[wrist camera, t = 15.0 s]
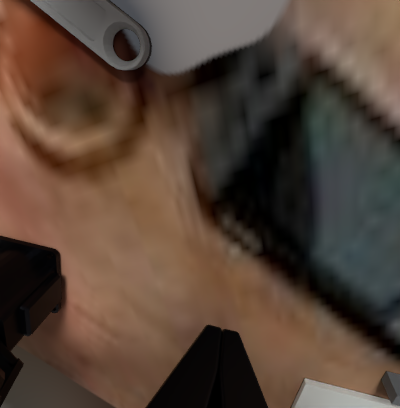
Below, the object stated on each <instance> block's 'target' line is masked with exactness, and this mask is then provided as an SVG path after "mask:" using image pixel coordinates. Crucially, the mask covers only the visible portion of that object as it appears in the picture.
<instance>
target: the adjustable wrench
mask: <svg viewBox="0 0 400 408" xmlns="http://www.w3.org/2000/svg"><path fill="white" fill-rule="evenodd" d="M31 1H32V2H33V3H34V4H36V5H37V6H38V7H39V8H40V9H42V10H43V11H44V12H45V13H47V14H48V15H49V16H50V17H52V18H53V19H54V20H55V21H57V22H58V23H59V24H60V25H62V26H63V27H64V28H65V29H66V30H68V31H69V32H70V33H71V34H73V35H74V36H75V37H76V38H78V39H79V40H80V41H81V42H83V43H84V44H85V45H86V46H87V47H89V48H90V49H91V50H92V51H94V52H95V53H96V54H97V55H99V56H100V57H101V58H102V59H104V60H105V61H106V62H107V63H108V64H110V65H111V66H113V67H115V68H116V69H120V70H135V69H138V68H139V67H141V66H142V65H143V64H144V63H145V62H146V63H147V62H148V61H149V59H150V56H151V52H152V43H151V38H150V36H149V34H148V32H147V31H146V30H145V29H144V27H143V26H142V25H140V24H139V23H138V22H137V21H135V20H134V19H133V18H132V17H130V16H129V15H128V14H126V13H125V12H124V11H122V10H121V9H120V8H119V7H117V6H116V5H115V4H114V3H113V2H111V1H110V0H31ZM122 29H129V30H131V31H133V32H134V33H135V34H136V35H137V36H138V38H139V41H140V52H139V55H138V56H137V57H136V58H135V59H134V60H132V61H123V60H121V59H120V58H119V57H118V56H117V55H116V54H115V52H114V49H113V39H114V36H115V34H116V33H117V32H118V31H120V30H122Z"/></svg>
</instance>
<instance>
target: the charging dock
mask: <svg viewBox="0 0 400 408" xmlns="http://www.w3.org/2000/svg"><path fill="white" fill-rule="evenodd" d="M381 380H382V382H383V385H384V387H385V390H386V392H387V395H388V397H389V399H390V402H391V404H392V405H396V406H400V374H396V373H392V372H388V371H386V373H385V374H384V376H383V378H382V379H381Z"/></svg>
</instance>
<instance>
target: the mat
mask: <svg viewBox="0 0 400 408" xmlns="http://www.w3.org/2000/svg"><path fill="white" fill-rule="evenodd" d="M291 408H400V406H396V405H392V404H391V402H390V400H388V399H384V398H380V397H376V396H372V395H368V394H364V393H361V392H357V391H353V390H349V389H345V388H341V387H337V386H333V385H330V384H326V383H322V382H318V381H314V380H310V379H306V378H305V379H304V381H303V383H302V385H301V387H300V390H299V392H298V394H297V396H296V398H295V400H294V403H293V405H292V407H291Z"/></svg>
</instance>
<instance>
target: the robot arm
mask: <svg viewBox="0 0 400 408" xmlns="http://www.w3.org/2000/svg"><path fill="white" fill-rule="evenodd" d="M51 254H52V255H53V256H52V255H51ZM61 299H62V291H61V276H60V264H59V253H58V251H57V250H55V249H53V248H49V247H45V246H41V245H37V244H32V243H28V242H24V241H20V240H16V239H12V238H7V237H3V236H0V407H1V405H2V403H3V401H4V400H5V398H6V396H7V394H8V392H9V390H10V389H11V386H12V385H13V383H14V381H15V379H16V377H17V376H18V374H19V372H20V370H21V368H22V367H23V363H22V361H21V360H20V359H19V358H18V359H17V358H16V357H15V356H14V355H13V354H12V353H11V350H12V349H13V347H15V345H16V344H17V343H18V342H19V341H20V340H21V339H22V337H23V336H24V335H25V336H30V335H31V334H33V332H34V331H35V330H36V329H37V328H38V327H39V325H40V324H41V323H42V322H43V321H44V319H45V318H46V317H47V316H48V315H49V314H50V312H52V313H57V312H58V311H59V310H60V309H61ZM146 408H268V406H267V403H266V401H265V398H264V396H263V393H262V391H261V388H260V386H259V383H258V381H257V378H256V376H255V373H254V371H253V368H252V365H251V363H250V360H249V358H248V355H247V353H246V350H245V348H244V345H243V343H242V340H241V338H240V335H239V333H238V332H235V331H232V330H228V329H223V330H222V329H221V328H220V327H216V326H212V325H206V326H205V327H204V329H203V330H202V332H201V333H200V334H199V336H198V337H197V338H196V340H195V341H194V342H193V344H192V345H191V347H190V348H189V349H188V351H187V352H186V353H185V355H184V356H183V357H182V359H181V360H180V362H179V363H178V364H177V366H176V367H175V368H174V370H173V371H172V372H171V374H170V375H169V376H168V378H167V379H166V381H165V382H164V383H163V385H162V386H161V387H160V389H159V390H158V391H157V393H156V394H155V396H154V397H153V398H152V400H151V401H150V402H149V404H148V405H147V406H146Z"/></svg>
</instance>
